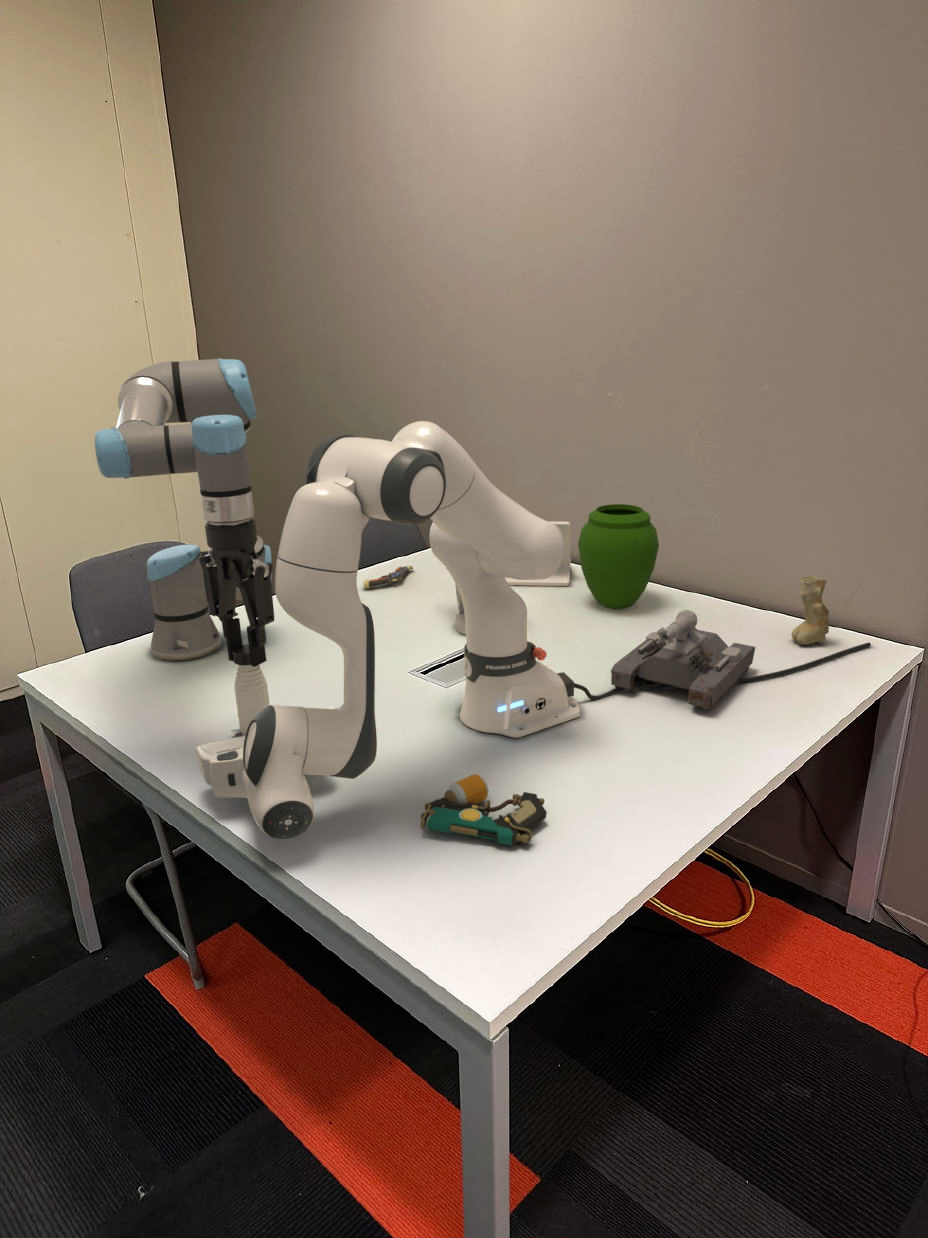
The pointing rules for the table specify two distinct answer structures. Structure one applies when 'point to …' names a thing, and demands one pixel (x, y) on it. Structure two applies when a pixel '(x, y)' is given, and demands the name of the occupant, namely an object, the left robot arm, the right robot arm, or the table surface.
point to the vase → (618, 554)
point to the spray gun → (482, 813)
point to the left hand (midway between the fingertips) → (247, 660)
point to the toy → (685, 662)
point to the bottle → (250, 694)
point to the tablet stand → (563, 572)
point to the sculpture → (812, 612)
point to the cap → (241, 655)
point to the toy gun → (388, 577)
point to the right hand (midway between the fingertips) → (255, 729)
